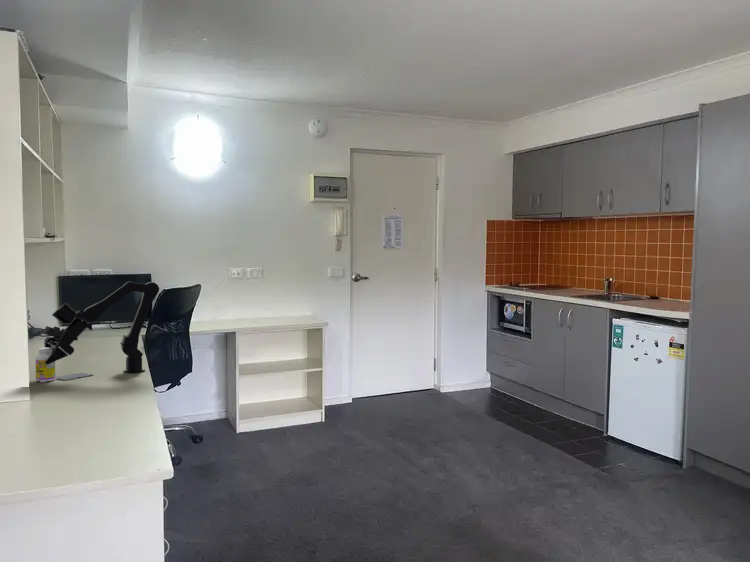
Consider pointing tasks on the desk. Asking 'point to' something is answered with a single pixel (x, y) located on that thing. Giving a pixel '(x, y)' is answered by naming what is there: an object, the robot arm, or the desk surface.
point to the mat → (73, 376)
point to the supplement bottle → (44, 366)
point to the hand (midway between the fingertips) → (42, 362)
